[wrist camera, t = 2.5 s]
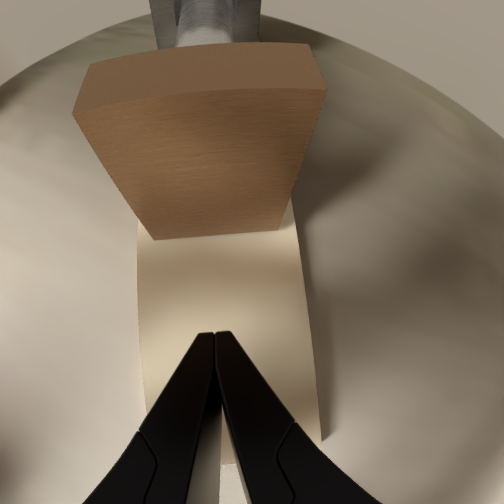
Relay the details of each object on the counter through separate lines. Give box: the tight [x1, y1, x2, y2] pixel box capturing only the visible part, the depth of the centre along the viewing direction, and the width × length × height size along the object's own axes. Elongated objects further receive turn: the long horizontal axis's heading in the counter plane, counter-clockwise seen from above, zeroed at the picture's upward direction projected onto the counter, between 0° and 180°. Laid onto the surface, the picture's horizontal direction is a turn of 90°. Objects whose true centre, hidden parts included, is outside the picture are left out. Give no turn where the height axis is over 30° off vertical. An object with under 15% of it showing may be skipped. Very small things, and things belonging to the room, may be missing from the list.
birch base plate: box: [137, 40, 322, 464], centre depth 17 cm, size 30×8×1 cm, turn 6°
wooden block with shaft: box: [72, 0, 327, 241], centre depth 12 cm, size 12×6×9 cm, turn 6°
